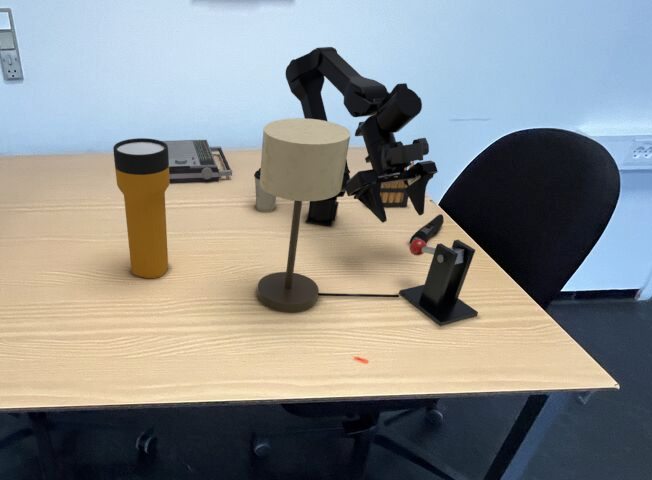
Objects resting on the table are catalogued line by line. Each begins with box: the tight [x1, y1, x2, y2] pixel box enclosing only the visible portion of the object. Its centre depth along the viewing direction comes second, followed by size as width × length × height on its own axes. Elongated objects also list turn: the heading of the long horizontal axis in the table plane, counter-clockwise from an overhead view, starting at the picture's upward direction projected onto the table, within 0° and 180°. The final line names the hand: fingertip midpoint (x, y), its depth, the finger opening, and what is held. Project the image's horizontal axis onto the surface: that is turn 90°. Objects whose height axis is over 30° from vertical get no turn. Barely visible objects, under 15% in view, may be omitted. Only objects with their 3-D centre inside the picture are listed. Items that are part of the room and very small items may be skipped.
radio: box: [161, 139, 233, 184], centre depth 158 cm, size 24×5×20 cm
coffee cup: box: [253, 167, 277, 213], centre depth 134 cm, size 7×7×10 cm
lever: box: [408, 239, 464, 264], centre depth 99 cm, size 12×3×3 cm, turn 23°
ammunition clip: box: [380, 161, 415, 208], centre depth 136 cm, size 11×2×12 cm, turn 93°
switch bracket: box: [398, 239, 479, 327], centre depth 98 cm, size 12×9×13 cm
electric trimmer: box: [409, 214, 445, 245], centre depth 125 cm, size 4×16×3 cm, turn 142°
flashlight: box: [112, 137, 170, 279], centre depth 103 cm, size 10×26×10 cm
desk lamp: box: [256, 117, 400, 314], centre depth 94 cm, size 29×14×32 cm, turn 89°
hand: (403, 218), depth 105 cm, fingers open, 9 cm apart
